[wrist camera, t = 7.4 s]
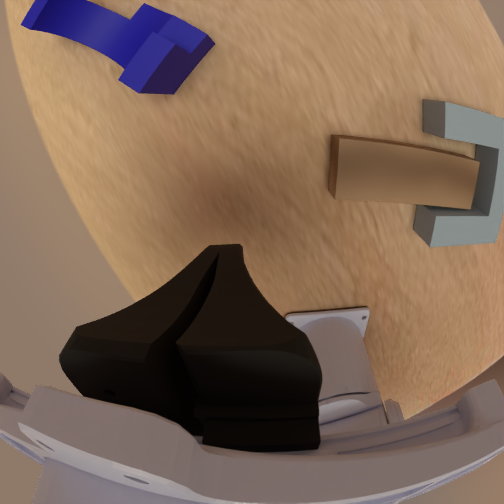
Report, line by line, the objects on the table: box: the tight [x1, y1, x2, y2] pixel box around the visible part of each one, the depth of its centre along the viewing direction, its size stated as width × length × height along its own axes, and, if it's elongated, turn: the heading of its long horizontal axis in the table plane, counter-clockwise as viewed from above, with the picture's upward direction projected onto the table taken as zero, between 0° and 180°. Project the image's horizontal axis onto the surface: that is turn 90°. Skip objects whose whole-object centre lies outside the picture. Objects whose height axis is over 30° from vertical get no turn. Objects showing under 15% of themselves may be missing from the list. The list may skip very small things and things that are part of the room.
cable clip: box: [21, 0, 215, 95], centre depth 11 cm, size 12×4×6 cm, turn 50°
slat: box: [328, 135, 480, 209], centre depth 17 cm, size 4×12×2 cm, turn 91°
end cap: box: [413, 100, 504, 247], centre depth 16 cm, size 11×8×3 cm
